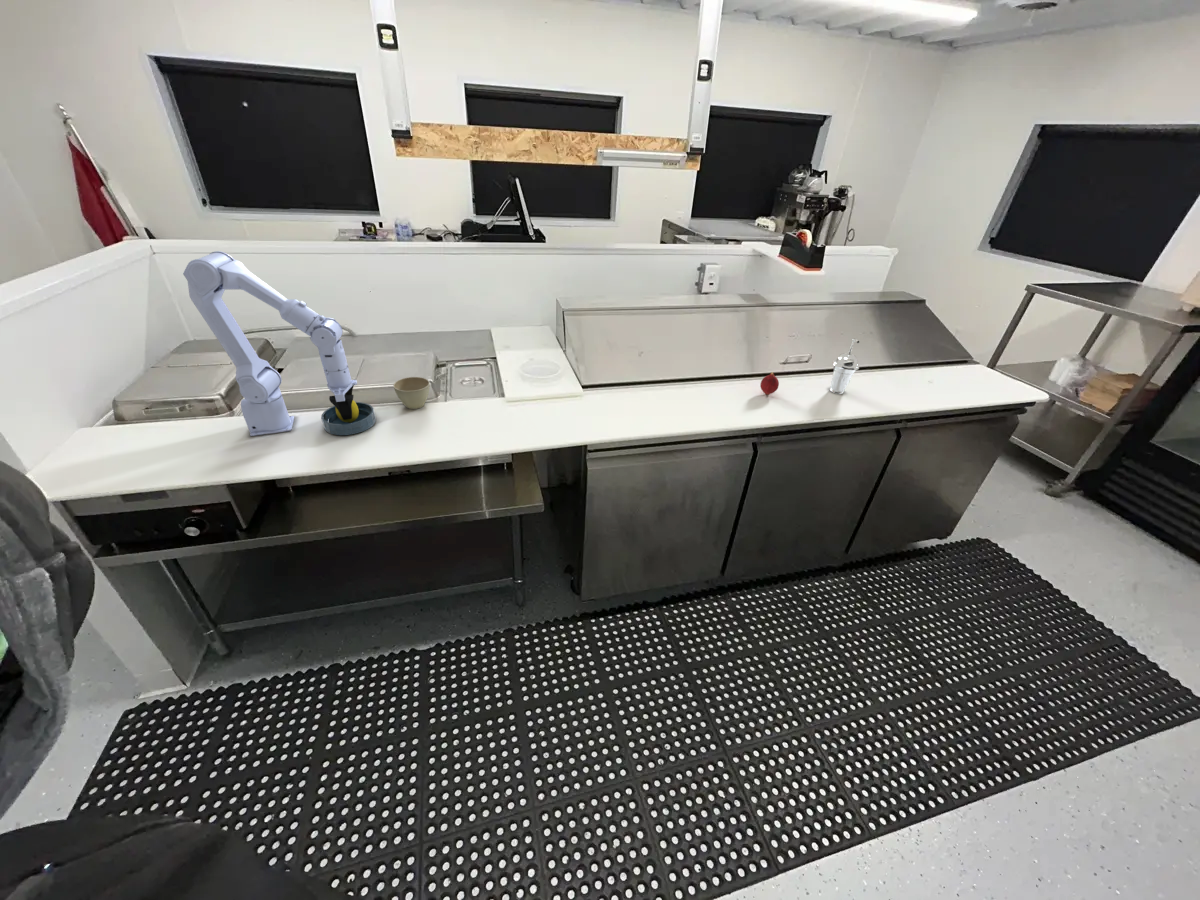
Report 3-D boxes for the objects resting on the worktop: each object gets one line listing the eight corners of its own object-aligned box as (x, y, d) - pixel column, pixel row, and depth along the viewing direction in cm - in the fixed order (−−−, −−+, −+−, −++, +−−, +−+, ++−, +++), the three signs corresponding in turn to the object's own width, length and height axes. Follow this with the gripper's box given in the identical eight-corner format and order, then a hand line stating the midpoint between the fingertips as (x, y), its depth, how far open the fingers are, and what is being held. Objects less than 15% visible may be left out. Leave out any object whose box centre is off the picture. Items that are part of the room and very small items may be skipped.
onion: (777, 398, 162) (784, 376, 158) (760, 398, 162) (766, 376, 157) (772, 391, 167) (778, 369, 162) (756, 390, 167) (761, 368, 162)
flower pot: (422, 415, 141) (418, 393, 137) (390, 410, 142) (386, 388, 138) (438, 400, 149) (435, 378, 145) (408, 395, 151) (404, 374, 147)
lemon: (365, 421, 136) (359, 395, 131) (349, 429, 132) (342, 403, 127) (351, 416, 138) (344, 390, 133) (334, 424, 133) (327, 398, 129)
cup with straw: (852, 391, 170) (873, 336, 159) (844, 399, 164) (864, 342, 153) (828, 383, 174) (846, 329, 164) (819, 391, 169) (837, 335, 158)
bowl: (323, 439, 128) (319, 428, 126) (326, 416, 138) (322, 405, 136) (376, 432, 132) (373, 420, 130) (375, 410, 142) (373, 399, 140)
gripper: (352, 376, 121) (363, 424, 129) (353, 355, 132) (363, 399, 140) (320, 380, 119) (334, 428, 126) (324, 358, 130) (336, 403, 137)
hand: (348, 413), depth 133 cm, fingers closed on lemon, 5 cm apart
